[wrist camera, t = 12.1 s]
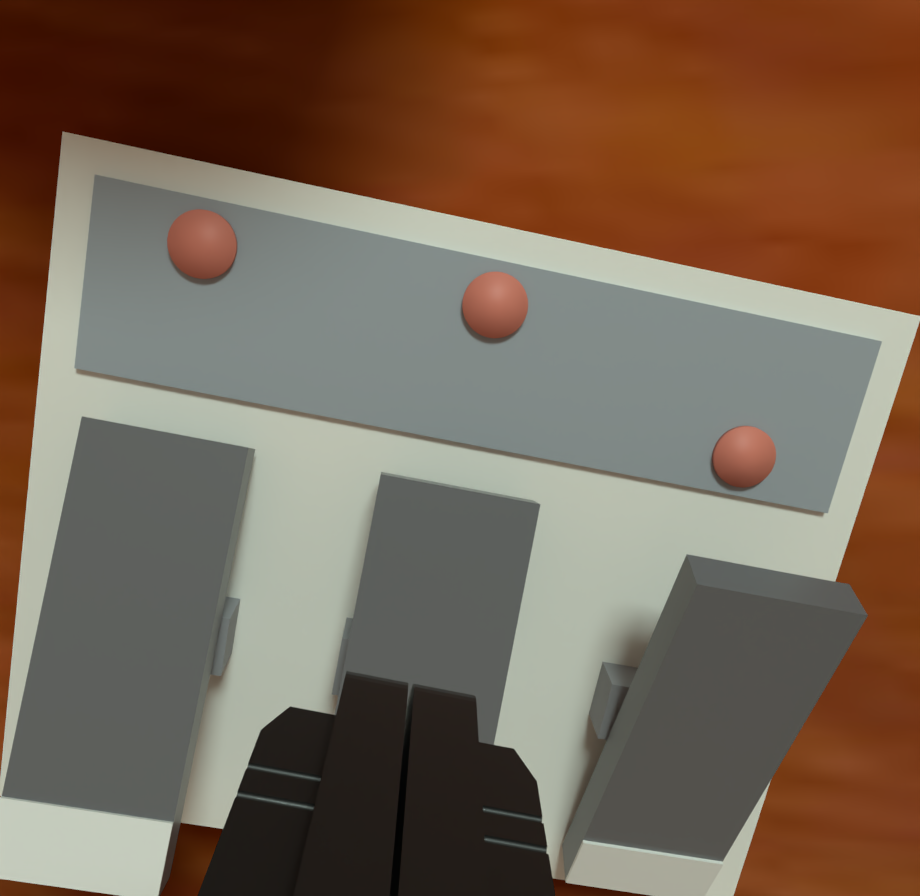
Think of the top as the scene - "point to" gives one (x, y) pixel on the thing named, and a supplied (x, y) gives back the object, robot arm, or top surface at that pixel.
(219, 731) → the switch unit
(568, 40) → the top surface
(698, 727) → the block
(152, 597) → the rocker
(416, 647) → the rocker
